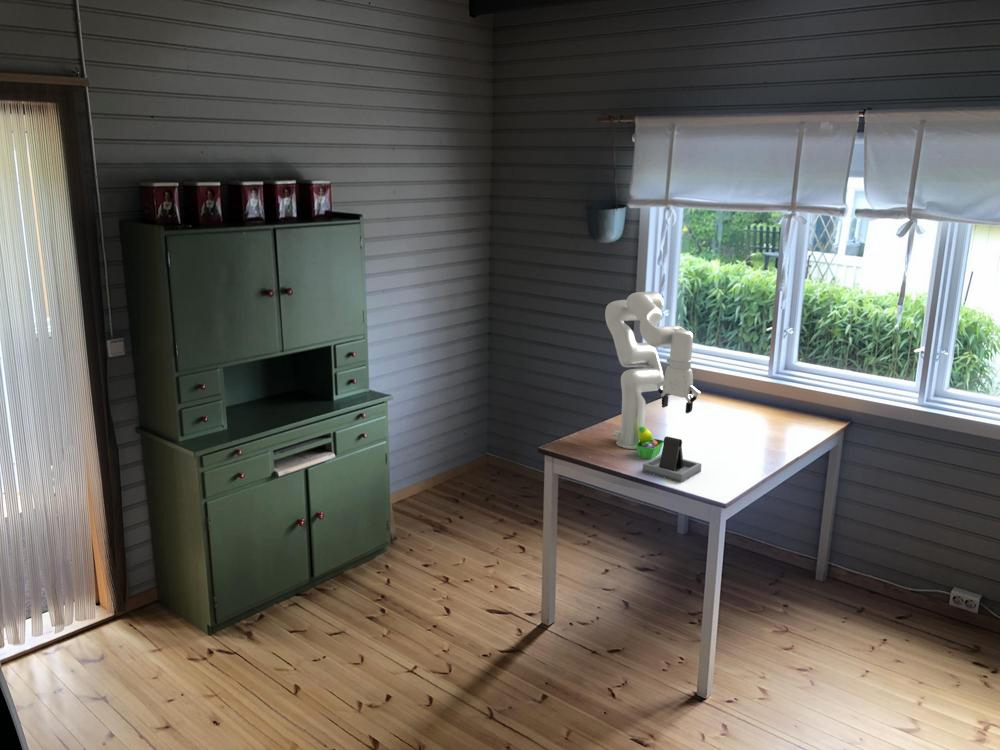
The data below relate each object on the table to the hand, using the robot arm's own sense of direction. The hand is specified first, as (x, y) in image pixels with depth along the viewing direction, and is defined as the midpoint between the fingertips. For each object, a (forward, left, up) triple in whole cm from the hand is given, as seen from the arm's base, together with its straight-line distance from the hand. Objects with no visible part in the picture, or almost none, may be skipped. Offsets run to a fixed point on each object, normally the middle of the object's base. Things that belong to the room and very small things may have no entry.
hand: (676, 409), depth 293 cm
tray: (+1, -1, -24) cm, 24 cm away
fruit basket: (-15, +9, -24) cm, 30 cm away
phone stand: (0, -2, -23) cm, 23 cm away
